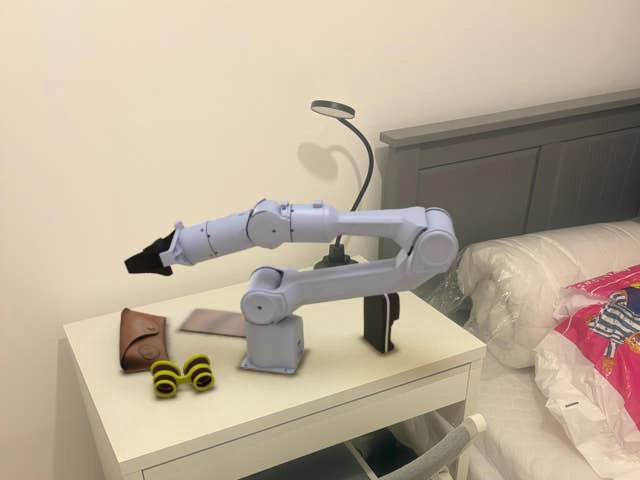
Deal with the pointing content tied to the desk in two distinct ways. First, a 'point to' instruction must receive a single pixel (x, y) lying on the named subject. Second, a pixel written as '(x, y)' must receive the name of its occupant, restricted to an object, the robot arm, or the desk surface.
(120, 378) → the desk surface
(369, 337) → the battery charger
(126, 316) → the sunglasses case
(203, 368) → the opera glasses
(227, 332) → the copper plate
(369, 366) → the desk surface
